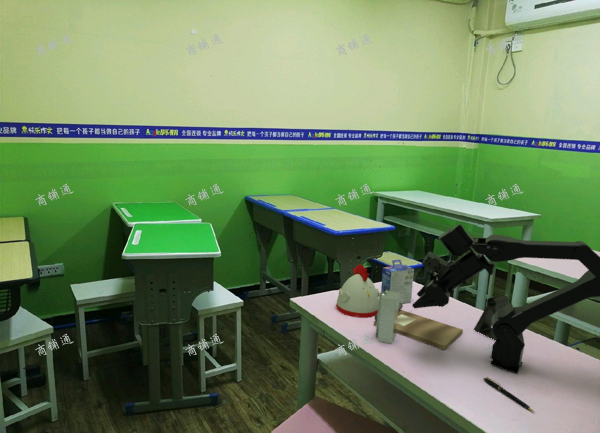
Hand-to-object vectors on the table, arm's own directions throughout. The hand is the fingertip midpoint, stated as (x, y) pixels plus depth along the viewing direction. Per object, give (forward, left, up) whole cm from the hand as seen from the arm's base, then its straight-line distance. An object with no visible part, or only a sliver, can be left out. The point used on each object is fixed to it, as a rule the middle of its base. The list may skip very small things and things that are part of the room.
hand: (415, 300), depth 124 cm
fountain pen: (-28, +8, -13) cm, 32 cm away
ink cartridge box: (+17, -25, -13) cm, 33 cm away
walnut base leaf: (+2, -10, -13) cm, 16 cm away
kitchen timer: (+23, -10, -13) cm, 29 cm away
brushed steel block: (+6, +2, -13) cm, 14 cm away
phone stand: (-16, -23, -13) cm, 31 cm away
